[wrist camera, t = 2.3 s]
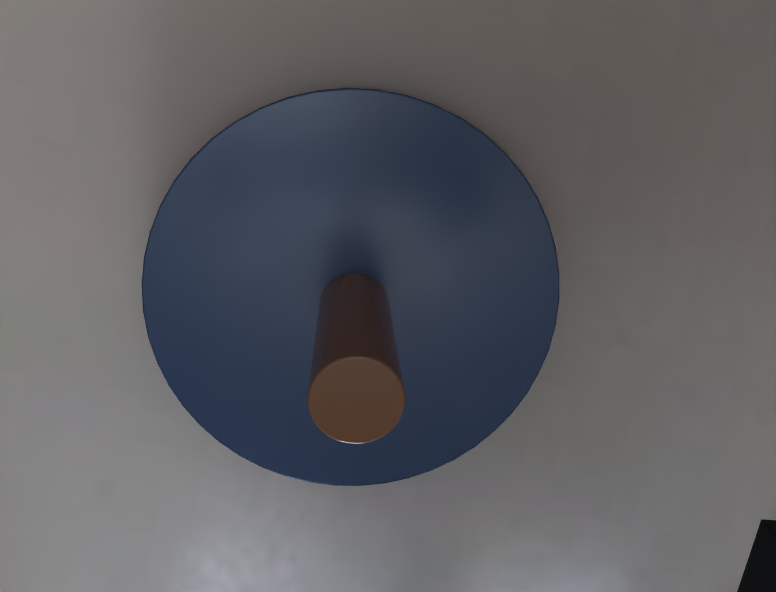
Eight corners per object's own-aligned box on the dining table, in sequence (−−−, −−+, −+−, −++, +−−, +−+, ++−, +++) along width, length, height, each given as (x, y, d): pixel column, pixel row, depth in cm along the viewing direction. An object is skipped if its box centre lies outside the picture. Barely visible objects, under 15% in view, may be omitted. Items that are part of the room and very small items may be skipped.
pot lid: (587, 114, 25) (712, 135, 17) (514, 483, 30) (582, 650, 21) (153, 61, 24) (42, 54, 15) (147, 456, 29) (59, 623, 20)
